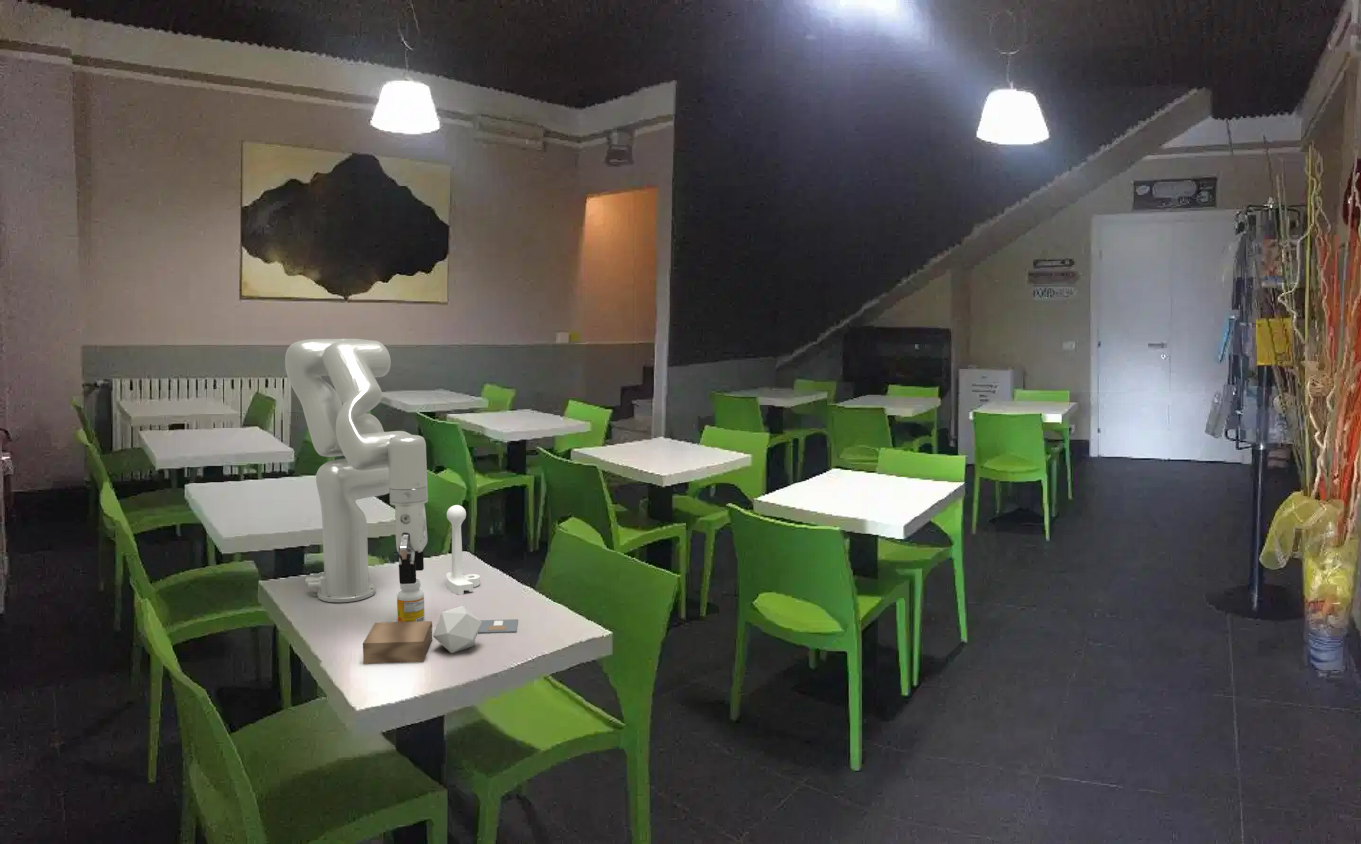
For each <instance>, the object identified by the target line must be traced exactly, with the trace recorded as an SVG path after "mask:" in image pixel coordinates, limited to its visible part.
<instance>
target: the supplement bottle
mask: <svg viewBox="0 0 1361 844" xmlns="http://www.w3.org/2000/svg"><path fill="white" fill-rule="evenodd" d="M399 585H400V590H399V591H398V592H397V595H396V606H397V607H396V609H397V611H396V613H397V622H418V621H426V620H425V592H424V590H422V589H421V580H420V579H418V578H416V583H414V584H400V583H399Z"/></svg>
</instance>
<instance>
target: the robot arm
mask: <svg viewBox="0 0 1361 844" xmlns="http://www.w3.org/2000/svg"><path fill="white" fill-rule="evenodd" d="M284 358H285V359H284V364H285V373H286V375H287V379H288V381H289V384H290V386H291V387H292V390H293V391H294V393H295V394H296V396H297V399H298V401H299V402H300V404H301V406H302V410H303V414H304V415H303V416H304V418H305V421H306V426H307V428H308V433H309V435H310V436H309V437H310V439H311V442H312V445H313V448H314V450H315V452H316V453H317V454H318V455H319V456H321V457H327V458H331V457H342V456H343V457H344V458H339V459H333V460H330V461H327V462H325V463H324V464H322V465H321V466H319V468H318V470H317V472H316V474H315V475H316V476H315V483H316V488H317V493H318V497H319V502H320V508H321V509H320V510H321V520H322V521H321V523H322V545H323V546H322V547H323V548H322V551H323V573H324V574H323V575H320V576H319V577H315V576H310V577H309V576H307V577H306V578H305V579H304V580H305V582H304V583H305V586H308V587H307V588H309V589H311V588H318V589H319V590H318V591H317V598H318V599H319V600H320V601H324V602H329V603H351V602H357V601H362V600H365V599H368V598H370V597H372V596H373V595H375V594H376V591H377V589H376V588H377V587H376V585H375V584H373V583H371V582H369V557H368V556H369V553H368V551H369V550H368V549H369V548H368V547H369V545H368V522H367V516H366V514H365V512H364V511H363V510H362V509H361V507H359V505H358V504H357V503H356V501H358V500H362V499H368V498H374V497H378V496H379V497H380V496H385V495H388V494H389V504H390V505H392V506H395V507H394V509H395V510H394V512H395V513H394V514H395V515H394V517H395V521H394V522H395V524H394V525H395V542H396V543H395V545H396V552H398V554H399V557H398V577H399V585H400V584H414V583H416V579H417V571H418V572H420V571H423V570H424V569H425V566H424V565H425V564H424V563H425V562H424V551H423V550H424V549H425V547H426V546H427V544H428V541H429V540H428V530H427V515H426V507H425V504H426V503H428V501H429V494H428V493H429V492H428V491H429V490H428V468H427V467H428V466H427V464H428V463H427V462H428V461H427V443H426V440H425V437H423V436H422V435H417V434H411V433H409V432H407V431H405V430H393V431H384V428H383V425H382V423H381V422H380V420H379V419H378V418H377V417H376V416H375V415H374V414H371V413H370V412H371V410H373V409H374V408H376V406H378V405H379V403H380V402H381V400H382V397H383V392H382V389H381V388H382V387H380V385H379V383H378V381H377V379H376V378H382V377H385V376H386V375H387V374H388V373H389V372H390V369H391V366H392V361H391V356H390V353H389V350H388V348H387V347H386V346H385V345H384V344H383V343H382V342H380V341H378V340H370V339H362V338H311V339H303V340H298V341H296V342H294V343H292V344H290V345H289V346H288V347H287V349H286V352H285V356H284ZM322 376H324V377H325V376H328V377H329V379H330V381H331V384H332V385H333V386H332V385H331V384H329V383H328V382H327V381H325V380H324V379H323V378H322ZM368 412H369V413H368Z"/></svg>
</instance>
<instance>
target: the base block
mask: <svg viewBox="0 0 1361 844" xmlns="http://www.w3.org/2000/svg"><path fill="white" fill-rule="evenodd" d="M366 635H367V636H366V637H365V639H364V640H363V643H362V660H363V661H362V662H363V665H365V664H366V665H369V664H372V665H373V664H395V663H396V664H397V663H398V664H399V663H424V662H425V659H426V658H427V655H428V652H429V649H430V647H431V645H432V642H433V621H432V620H429V621H428V620H425V621H418V622H398V621H388V622H387V621H386V622H385V621H384V622H374V623H373V625H372V627H371V629H370V630H369V632H368V634H366Z"/></svg>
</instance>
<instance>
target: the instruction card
mask: <svg viewBox="0 0 1361 844" xmlns="http://www.w3.org/2000/svg"><path fill="white" fill-rule="evenodd" d="M479 620H480V621H481V622H482V623H481V626H480V628H479V631H478V634H500V633H501V634H507V633H508V634H509V633H511V634H512V633H514V634H515V633H517V631H518V624H519V619H518V618H517V619H511V618H510V619H484V620H483V619H479ZM478 634H477V635H478Z"/></svg>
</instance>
